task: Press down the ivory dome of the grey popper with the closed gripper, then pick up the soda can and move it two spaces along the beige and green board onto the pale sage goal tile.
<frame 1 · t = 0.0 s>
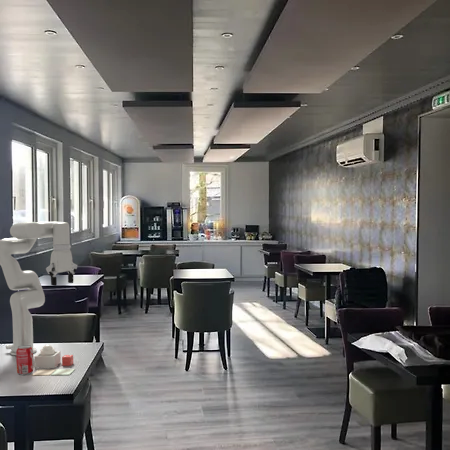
hand: (62, 284, 255), 37 cm above the table, tool pointing down, fingers open, 9 cm apart
dome: (47, 350, 250), point 7 cm above the table, slide at 0.0 cm
beige and green board: (53, 372, 238), on the table
die: (67, 364, 251), on the table
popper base: (47, 365, 250), on the table
soda can: (25, 373, 238), on the table
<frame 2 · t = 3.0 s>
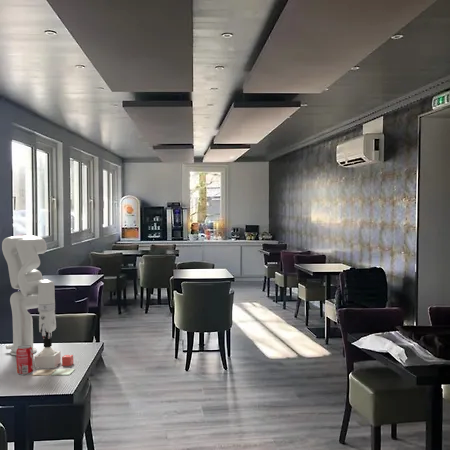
hand: (47, 346, 249), 9 cm above the table, tool pointing down, fingers closed
dome: (47, 352, 250), point 6 cm above the table, slide at 0.9 cm, touching gripper
everything else where it was.
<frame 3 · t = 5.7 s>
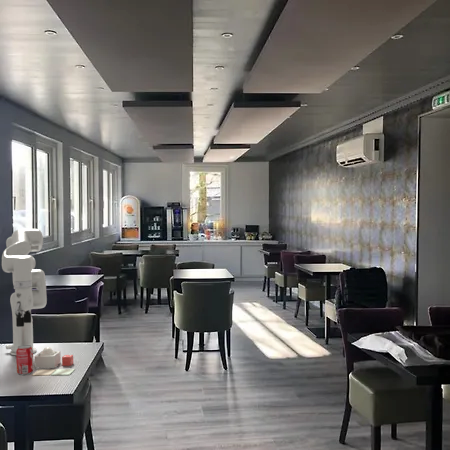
hand: (23, 324, 238), 22 cm above the table, tool pointing down, fingers open, 7 cm apart
dome: (47, 352, 250), point 6 cm above the table, slide at 1.2 cm
everything else where it was.
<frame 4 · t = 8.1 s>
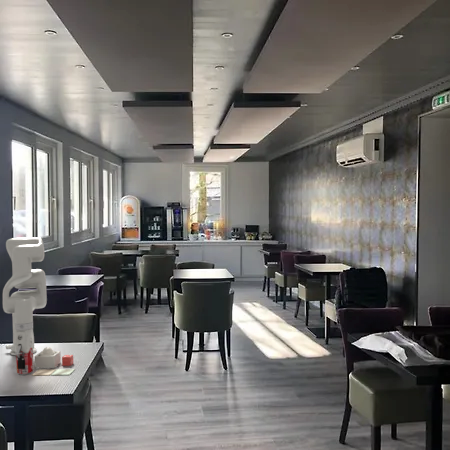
hand: (25, 366, 238), 3 cm above the table, tool pointing down, fingers closed on soda can, 7 cm apart
soda can: (25, 373, 238), on the table, touching gripper
everything else where it was.
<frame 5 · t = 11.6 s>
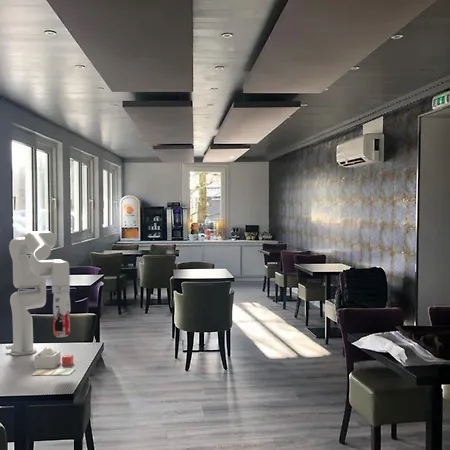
hand: (61, 328, 237), 20 cm above the table, tool pointing down, fingers closed on soda can, 7 cm apart
soda can: (61, 336, 237), point 16 cm above the table, touching gripper
everything else where it was.
when the fingers open (4 cm above the table, at t = 15.0 s): soda can stays where it is, resting on beige and green board.
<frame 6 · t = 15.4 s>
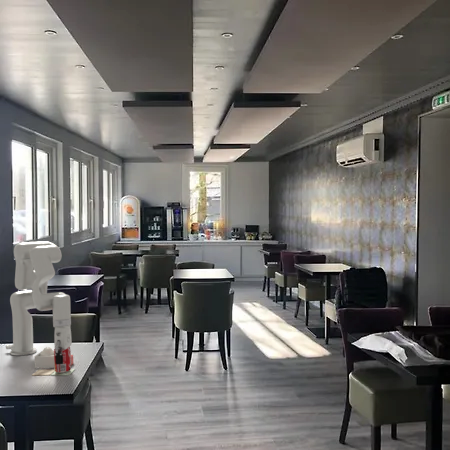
hand: (62, 361, 238), 5 cm above the table, tool pointing down, fingers open, 9 cm apart
soda can: (62, 372, 238), resting on beige and green board
everything else where it was.
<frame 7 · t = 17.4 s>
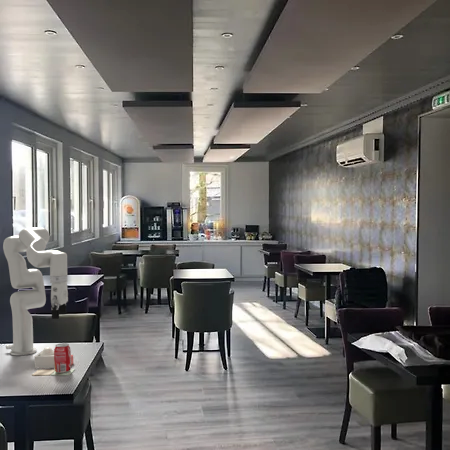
hand: (59, 316, 246), 24 cm above the table, tool pointing down, fingers open, 9 cm apart
nothing on the table moved.
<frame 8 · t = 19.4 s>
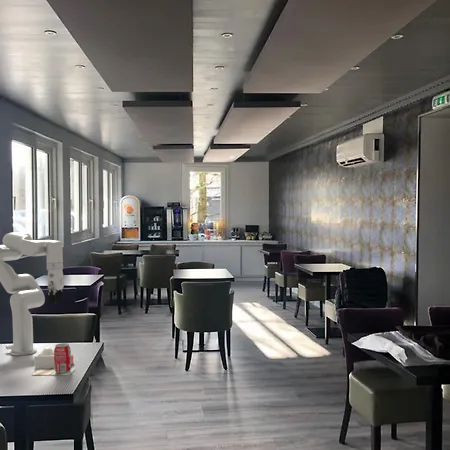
hand: (55, 301, 259), 28 cm above the table, tool pointing down, fingers open, 9 cm apart
nothing on the table moved.
at the end: soda can 0.2 cm from the target spot on the beige and green board, point 0.2 cm above the beige and green board's base; soda can tilted 0°; dome slide at 1.2 cm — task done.
